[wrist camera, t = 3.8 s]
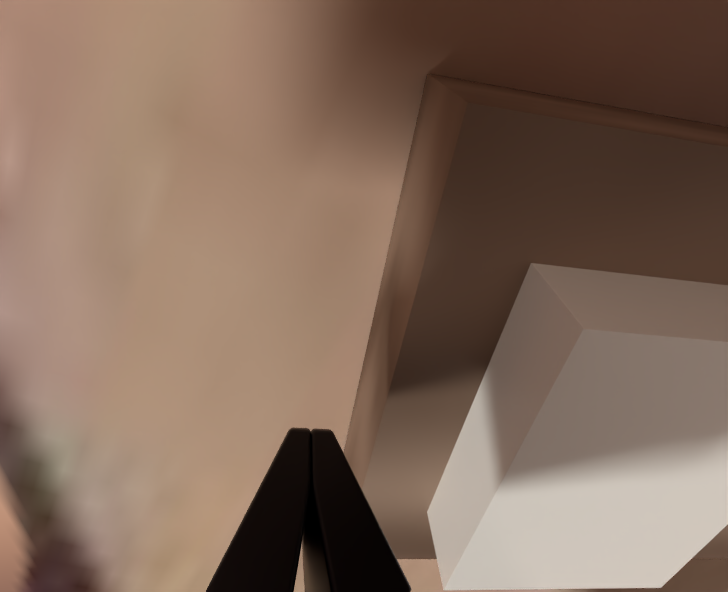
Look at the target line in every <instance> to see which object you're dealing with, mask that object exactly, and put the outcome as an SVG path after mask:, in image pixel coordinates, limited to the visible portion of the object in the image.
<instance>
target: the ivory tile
mask: <svg viewBox="0 0 728 592" xmlns="http://www.w3.org/2000/svg"><path fill="white" fill-rule="evenodd" d="M427 514H428V519H429V524H430V528H431V533H432V538H433V543H434V547H435V552H436V557H437V562H438V566H439V571H440V576H441V581H442V585H443V590H509V589H597V588H661V587H662V586H663V585H664V584H665V583H666V582H667V581H669V580H670V579H671V578H672V577H673V576H674V575H675V574H676V573H677V572H678V571H679V570H680V569H681V568H682V567H683V566H684V565H685V564H686V563H688V562H689V561H690V560H691V559H692V558H693V557H694V556H695V555H696V554H697V553H698V552H699V551H700V550H701V549H702V548H703V547H704V546H705V545H707V544H708V543H709V542H710V541H711V540H712V539H713V538H714V537H715V536H716V535H717V534H718V533H719V532H720V531H721V530H722V529H723V528H724V527H725V526H727V525H728V285H720V284H712V283H703V282H694V281H685V280H676V279H668V278H659V277H650V276H641V275H633V274H624V273H615V272H606V271H597V270H589V269H580V268H571V267H562V266H554V265H545V264H536V263H531V264H530V267H529V269H528V271H527V274H526V276H525V279H524V281H523V283H522V286H521V288H520V291H519V293H518V295H517V298H516V300H515V303H514V305H513V307H512V310H511V312H510V315H509V317H508V319H507V322H506V324H505V327H504V329H503V331H502V334H501V336H500V339H499V341H498V343H497V346H496V348H495V351H494V353H493V355H492V358H491V360H490V363H489V365H488V367H487V370H486V372H485V375H484V377H483V379H482V382H481V384H480V387H479V389H478V391H477V394H476V396H475V399H474V401H473V403H472V406H471V408H470V410H469V413H468V415H467V418H466V420H465V422H464V425H463V427H462V430H461V432H460V434H459V437H458V439H457V442H456V444H455V446H454V449H453V451H452V454H451V456H450V458H449V461H448V463H447V466H446V468H445V470H444V473H443V475H442V478H441V480H440V482H439V485H438V487H437V490H436V492H435V494H434V497H433V499H432V502H431V504H430V506H429V509H428V511H427Z"/></svg>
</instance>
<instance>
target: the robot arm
mask: <svg viewBox="0 0 728 592" xmlns="http://www.w3.org/2000/svg"><path fill="white" fill-rule="evenodd" d="M301 544H302V549H303V569H304V585H305V592H410V591H411V587H410V585H409V583H408V581H407V579H406V577H405V575H404V573H403V571H402V569H401V567H400V565H399V563H398V561H397V559H396V557H395V555H394V553H393V551H392V549H391V547H390V545H389V543H388V541H387V539H386V537H385V535H384V533H383V531H382V529H381V527H380V525H379V523H378V521H377V519H376V517H375V515H374V513H373V511H372V509H371V507H370V505H369V503H368V501H367V499H366V497H365V495H364V493H363V491H362V489H361V487H360V485H359V483H358V481H357V479H356V477H355V475H354V473H353V471H352V469H351V467H350V465H349V463H348V461H347V459H346V457H345V455H344V453H343V451H342V449H341V447H340V445H339V443H338V441H337V439H336V437H335V435H334V433H333V432H332V431H331V430H329V429H313V430H312V431H310V430H309V429H308V428H291V429H290V430H289V431H288V433H287V435H286V437H285V439H284V441H283V443H282V444H281V446H280V448H279V450H278V452H277V454H276V456H275V458H274V460H273V462H272V464H271V466H270V468H269V470H268V472H267V474H266V475H265V477H264V479H263V481H262V483H261V485H260V487H259V489H258V491H257V493H256V495H255V497H254V499H253V501H252V503H251V504H250V506H249V508H248V510H247V512H246V514H245V516H244V518H243V520H242V522H241V524H240V526H239V528H238V530H237V532H236V534H235V535H234V537H233V539H232V541H231V543H230V545H229V547H228V549H227V551H226V553H225V555H224V557H223V559H222V561H221V563H220V565H219V566H218V568H217V570H216V572H215V574H214V576H213V578H212V580H211V582H210V584H209V586H208V588H207V590H206V592H293V591H294V585H295V580H296V574H297V568H298V562H299V556H300V550H301Z"/></svg>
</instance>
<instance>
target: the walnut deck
mask: <svg viewBox="0 0 728 592" xmlns="http://www.w3.org/2000/svg"><path fill="white" fill-rule="evenodd" d="M531 263H536V264H545V265H554V266H562V267H571V268H580V269H589V270H597V271H606V272H615V273H624V274H633V275H641V276H650V277H659V278H668V279H676V280H685V281H694V282H703V283H712V284H720V285H728V127H722V126H717V125H711V124H706V123H700V122H694V121H689V120H683V119H678V118H672V117H667V116H661V115H655V114H650V113H644V112H639V111H633V110H628V109H622V108H616V107H611V106H605V105H600V104H594V103H589V102H583V101H577V100H572V99H566V98H561V97H555V96H550V95H544V94H538V93H533V92H527V91H522V90H516V89H511V88H505V87H500V86H494V85H488V84H483V83H477V82H472V81H466V80H461V79H455V78H449V77H444V76H438V75H433V74H427V78H426V82H425V87H424V91H423V96H422V100H421V105H420V109H419V114H418V118H417V123H416V127H415V132H414V136H413V141H412V145H411V150H410V155H409V159H408V164H407V168H406V173H405V177H404V182H403V186H402V191H401V195H400V200H399V204H398V209H397V213H396V218H395V222H394V227H393V232H392V236H391V241H390V245H389V250H388V254H387V259H386V263H385V268H384V272H383V277H382V281H381V286H380V290H379V295H378V299H377V304H376V309H375V313H374V318H373V322H372V327H371V331H370V336H369V340H368V345H367V349H366V354H365V358H364V363H363V367H362V372H361V376H360V381H359V386H358V390H357V395H356V399H355V404H354V408H353V413H352V417H351V422H350V426H349V431H348V435H347V440H346V444H345V449H344V455H345V457H346V459H347V461H348V463H349V465H350V467H351V469H352V471H353V473H354V475H355V477H356V479H357V481H358V483H359V485H360V487H361V489H362V491H363V493H364V495H365V497H366V499H367V501H368V503H369V505H370V507H371V509H372V511H373V513H374V515H375V517H376V519H377V521H378V523H379V525H380V527H381V529H382V531H383V533H384V535H385V537H386V539H387V541H388V543H389V545H390V547H391V549H392V551H393V553H394V555H395V557H396V559H437V557H436V552H435V547H434V543H433V538H432V533H431V528H430V524H429V519H428V514H427V511H428V509H429V506H430V504H431V502H432V499H433V497H434V494H435V492H436V490H437V487H438V485H439V482H440V480H441V478H442V475H443V473H444V470H445V468H446V466H447V463H448V461H449V458H450V456H451V454H452V451H453V449H454V446H455V444H456V442H457V439H458V437H459V434H460V432H461V430H462V427H463V425H464V422H465V420H466V418H467V415H468V413H469V410H470V408H471V406H472V403H473V401H474V399H475V396H476V394H477V391H478V389H479V387H480V384H481V382H482V379H483V377H484V375H485V372H486V370H487V367H488V365H489V363H490V360H491V358H492V355H493V353H494V351H495V348H496V346H497V343H498V341H499V339H500V336H501V334H502V331H503V329H504V327H505V324H506V322H507V319H508V317H509V315H510V312H511V310H512V307H513V305H514V303H515V300H516V298H517V295H518V293H519V291H520V288H521V286H522V283H523V281H524V279H525V276H526V274H527V271H528V269H529V267H530V264H531ZM692 559H728V525H727V526H725V527H724V528H723V529H722V530H721V531H720V532H719V533H718V534H717V535H716V536H715V537H714V538H713V539H712V540H711V541H710V542H709V543H708V544H707V545H705V546H704V547H703V548H702V549H701V550H700V551H699V552H698V553H697V554H696V555H695V556H694V557H693V558H692Z"/></svg>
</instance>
